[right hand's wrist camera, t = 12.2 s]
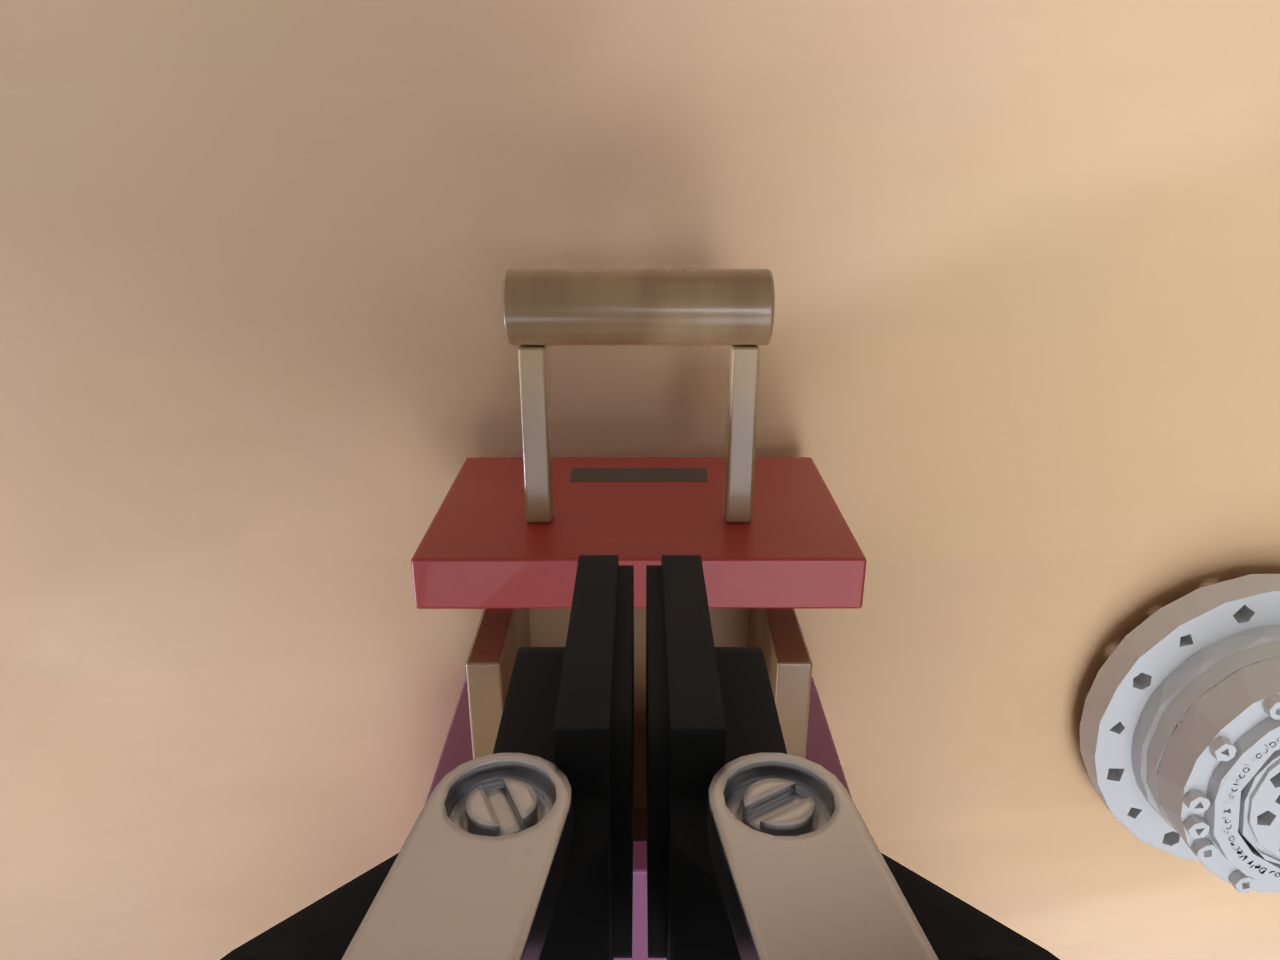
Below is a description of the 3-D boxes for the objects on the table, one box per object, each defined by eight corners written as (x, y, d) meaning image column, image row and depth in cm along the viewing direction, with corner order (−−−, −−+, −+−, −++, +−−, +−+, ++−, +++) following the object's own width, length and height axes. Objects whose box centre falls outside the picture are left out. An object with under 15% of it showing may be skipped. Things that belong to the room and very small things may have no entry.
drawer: (451, 246, 23) (382, 284, 17) (826, 246, 23) (893, 284, 17) (490, 802, 29) (451, 978, 23) (787, 801, 29) (827, 977, 23)
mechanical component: (1102, 864, 31) (1402, 786, 30) (1172, 974, 27) (1523, 888, 26) (1048, 624, 28) (1384, 525, 27) (1119, 708, 24) (1518, 595, 23)
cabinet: (468, 666, 29) (402, 871, 21) (809, 666, 29) (876, 871, 21) (492, 975, 33) (445, 1241, 25) (786, 975, 33) (833, 1241, 25)
